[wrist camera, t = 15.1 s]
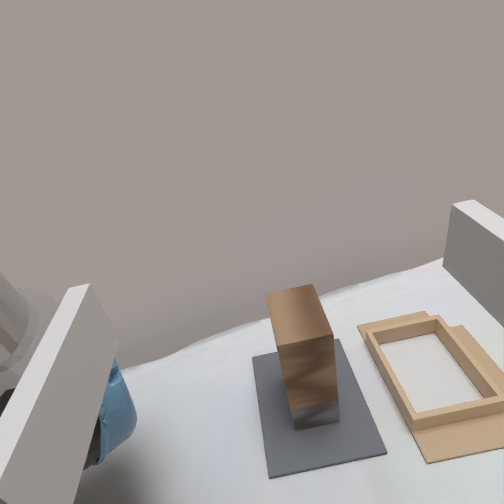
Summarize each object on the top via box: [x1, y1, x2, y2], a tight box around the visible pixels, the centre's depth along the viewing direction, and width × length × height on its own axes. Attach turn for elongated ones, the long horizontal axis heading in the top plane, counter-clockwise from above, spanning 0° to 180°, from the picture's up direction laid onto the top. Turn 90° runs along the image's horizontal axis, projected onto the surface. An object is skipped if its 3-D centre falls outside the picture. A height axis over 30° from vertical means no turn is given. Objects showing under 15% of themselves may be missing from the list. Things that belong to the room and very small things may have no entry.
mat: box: [252, 338, 387, 479], centre depth 41 cm, size 12×15×1 cm
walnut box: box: [265, 284, 340, 431], centre depth 37 cm, size 5×7×14 cm
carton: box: [357, 311, 504, 464], centre depth 40 cm, size 13×18×2 cm
